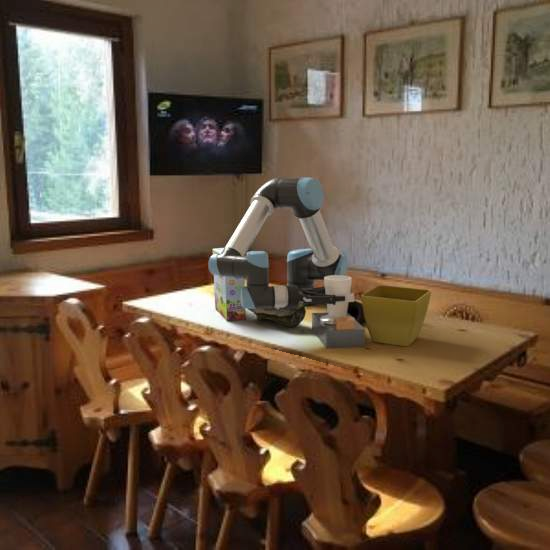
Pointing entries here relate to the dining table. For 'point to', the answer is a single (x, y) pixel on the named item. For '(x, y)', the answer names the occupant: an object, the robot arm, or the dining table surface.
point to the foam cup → (337, 286)
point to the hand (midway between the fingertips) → (350, 294)
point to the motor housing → (338, 331)
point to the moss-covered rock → (282, 314)
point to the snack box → (228, 295)
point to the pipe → (356, 311)
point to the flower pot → (395, 313)
